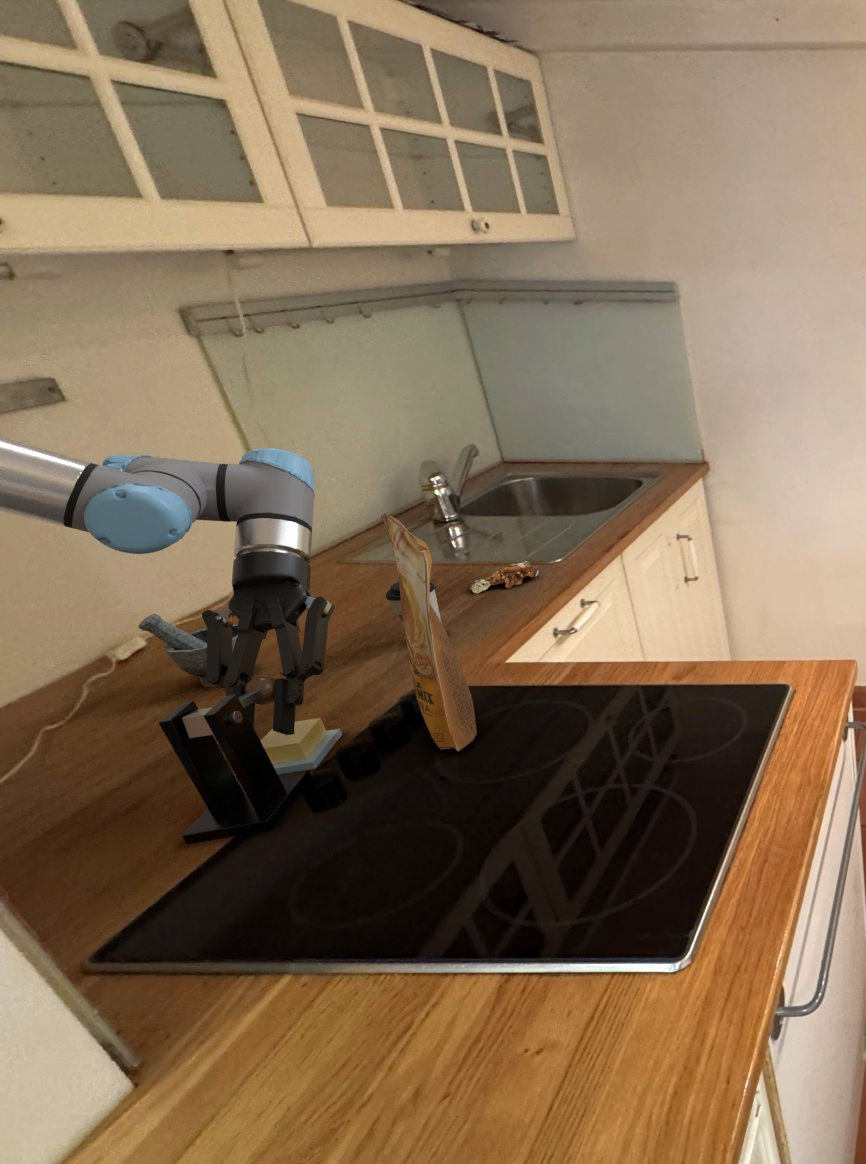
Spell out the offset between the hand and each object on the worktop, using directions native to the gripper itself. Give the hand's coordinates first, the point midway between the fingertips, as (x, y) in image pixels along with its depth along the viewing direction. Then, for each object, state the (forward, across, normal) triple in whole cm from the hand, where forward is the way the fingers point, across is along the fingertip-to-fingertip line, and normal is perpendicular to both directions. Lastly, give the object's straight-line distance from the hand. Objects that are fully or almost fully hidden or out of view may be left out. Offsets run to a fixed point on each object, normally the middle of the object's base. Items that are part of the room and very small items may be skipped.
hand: (262, 735), depth 93 cm
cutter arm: (-1, 0, +3) cm, 4 cm away
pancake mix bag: (0, -18, -9) cm, 20 cm away
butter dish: (+1, 0, -7) cm, 7 cm away
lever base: (+9, 0, +1) cm, 9 cm away
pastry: (-39, -12, -48) cm, 63 cm away
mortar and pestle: (-19, +22, -28) cm, 40 cm away
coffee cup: (-23, -5, -31) cm, 39 cm away
